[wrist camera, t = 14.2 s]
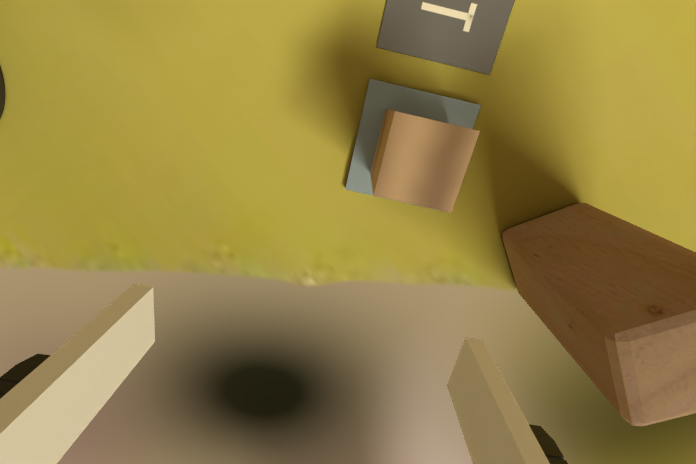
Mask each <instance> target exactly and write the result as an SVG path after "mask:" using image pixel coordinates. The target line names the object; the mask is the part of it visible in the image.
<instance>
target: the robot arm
mask: <svg viewBox="0 0 696 464" xmlns="http://www.w3.org/2000/svg"><path fill="white" fill-rule="evenodd" d="M4 105H5V85H4V79H3V75H2V72H1V68H0V118H1V116H2V113H3V110H4ZM154 342H155V327H154V299H153V287H149V286H143V285H137V284H133V285H132V286H131V287H130V288H129V289H128V290H126V291H125V292H124V293H123V294H122V295H120V296H119V297H118V298H117V299H116V300H115V301H114V302H112V303H111V304H110V305H109V306H108V307H107V308H105V309H104V310H103V311H102V312H101V313H100V314H99V315H97V316H96V317H95V318H94V319H93V320H91V321H90V322H89V323H88V324H87V325H86V326H84V328H82V329H81V330H80V331H79V332H77V333H76V334H75V335H74V336H73V337H72V338H71V339H69V340H68V341H67V342H66V343H65V344H64V345H62V346H61V347H60V348H59V349H58V350H57V351H55V352H54V353H53V354H52V355H51V356H50V355H42V354H36V355H35V356H33V357H31V358H29V359H27V360H25V361H23V362H21V363H19V364H17V365H15V366H14V367H13V368H12V369H10V370H9V371H8V372H7V373H6V374H4V375H3V376H2V377H0V464H57V463H58V461H59V460H60V459H61V458H62V456H63V455H64V454H65V453H66V451H67V450H68V449H69V448H70V446H71V445H72V444H73V443H74V441H75V440H76V439H77V438H78V436H79V435H80V434H81V433H82V431H83V430H84V429H85V428H86V426H87V425H88V424H89V423H90V421H91V420H92V419H93V418H94V416H95V415H96V414H97V413H98V412H99V410H100V409H101V408H102V406H103V405H104V404H105V403H106V402H107V400H108V399H109V398H110V397H111V395H112V394H113V393H114V392H115V390H116V389H117V388H118V386H119V385H120V384H121V383H122V382H123V380H124V379H125V378H126V377H127V375H128V374H129V373H130V372H131V370H132V369H133V368H134V367H135V366H136V364H137V363H138V362H139V361H140V359H141V358H142V357H143V356H144V354H145V353H146V352H147V351H148V349H149V348H150V346H152V344H153V343H154ZM447 386H448V389H449V392H450V395H451V398H452V402H453V405H454V408H455V411H456V413H457V417H458V420H459V423H460V426H461V429H462V432H463V435H464V438H465V441H466V444H467V447H468V450H469V453H470V456H471V459H472V462H473V464H568V463H567V462H566V460H564V457H563V455H562V453H561V452H560V450H559V448H558V447H557V445H556V443H555V441H554V440H553V439H552V438H551V437H550V436H549V435H548V434H547V433H546V432H545V431H544V430H543V429H542V427H541V426H536V425H529V424H528V422H527V421H526V419H525V417H524V415H523V413H522V411H521V409H520V408H519V406H518V404H517V402H516V400H515V398H514V396H513V395H512V393H511V391H510V389H509V387H508V385H507V383H506V382H505V380H504V378H503V376H502V374H501V372H500V371H499V369H498V367H497V365H496V363H495V362H494V359H493V358H492V356H491V354H490V352H489V350H488V348H487V347H486V345H485V343H484V341H483V340H480V339H475V338H469V337H466V338H465V340H464V343H463V346H462V348H461V351H460V353H459V356H458V358H457V361H456V364H455V366H454V369H453V372H452V374H451V377H450V379H449V382H448V384H447Z"/></svg>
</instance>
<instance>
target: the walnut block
mask: <svg viewBox="0 0 696 464" xmlns="http://www.w3.org/2000/svg"><path fill="white" fill-rule="evenodd" d="M479 133H480V131H478V130H474V129H469V128H465V127H461V126H457V125H453V124H449V123H444V122H440V121H436V120H432V119H427V118H423V117H419V116H415V115H410V114H406V113H402V112H398V111H393V110H389V109H385V113H384V118H383V122H382V126H381V130H380V134H379V138H378V142H377V146H376V150H375V154H374V159H373V163H372V167H371V171H370V176H371V182H372V189H373V195H374V196H379V197H383V198H388V199H392V200H397V201H401V202H406V203H410V204H415V205H419V206H424V207H428V208H433V209H437V210H442V211H446V212H451V213H452V211H453V208H454V205H455V202H456V199H457V196H458V193H459V190H460V187H461V185H462V182H463V179H464V176H465V173H466V170H467V167H468V164H469V162H470V159H471V156H472V153H473V150H474V147H475V144H476V141H477V138H478V136H479Z"/></svg>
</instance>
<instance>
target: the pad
mask: <svg viewBox="0 0 696 464" xmlns="http://www.w3.org/2000/svg"><path fill="white" fill-rule="evenodd" d="M480 107H481V105H479V104H475V103H471V102H466V101H462V100H458V99H454V98H450V97H445V96H441V95H437V94H433V93H429V92H424V91H420V90H416V89H412V88H408V87H404V86H399V85H395V84H391V83H387V82H383V81H378V80H374V79H370V80H369V84H368V89H367V93H366V98H365V102H364V107H363V111H362V116H361V120H360V125H359V129H358V134H357V138H356V143H355V148H354V152H353V157H352V161H351V166H350V170H349V175H348V179H347V184H346V188H345V189H346V190H350V191H355V192H359V193H364V194H368V195H373V189H372V182H371V176H370V171H371V167H372V163H373V159H374V154H375V150H376V146H377V142H378V138H379V134H380V130H381V126H382V122H383V118H384V113H385V109H389V110H393V111H398V112H402V113H406V114H410V115H415V116H419V117H423V118H427V119H432V120H436V121H440V122H444V123H449V124H453V125H457V126H461V127H465V128H469V129H473V127H474V125H475V122H476V119H477V116H478V113H479V110H480ZM373 196H374V195H373ZM377 197H379V196H377ZM382 198H383V197H382ZM386 199H388V198H386ZM391 200H392V199H391ZM395 201H397V200H395ZM400 202H401V201H400ZM405 203H406V202H405ZM409 204H410V203H409ZM414 205H415V204H414ZM418 206H419V205H418ZM423 207H424V206H423ZM427 208H428V207H427ZM432 209H433V208H432ZM436 210H437V209H436ZM441 211H442V210H441Z"/></svg>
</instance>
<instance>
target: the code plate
mask: <svg viewBox="0 0 696 464" xmlns="http://www.w3.org/2000/svg"><path fill="white" fill-rule="evenodd" d="M514 1H515V0H387V3H386V7H385V12H384V16H383V21H382V25H381V30H380V34H379V39H378V43H377V47H378V48H382V49H386V50H390V51H394V52H398V53H402V54H406V55H410V56H415V57H419V58H423V59H427V60H431V61H435V62H439V63H443V64H447V65H451V66H456V67H460V68H464V69H468V70H472V71H476V72H480V73H484V74H488V75H490V72H491V69H492V66H493V63H494V60H495V57H496V54H497V52H498V49H499V46H500V43H501V40H502V37H503V34H504V31H505V28H506V25H507V22H508V19H509V16H510V13H511V10H512V7H513V4H514Z"/></svg>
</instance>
